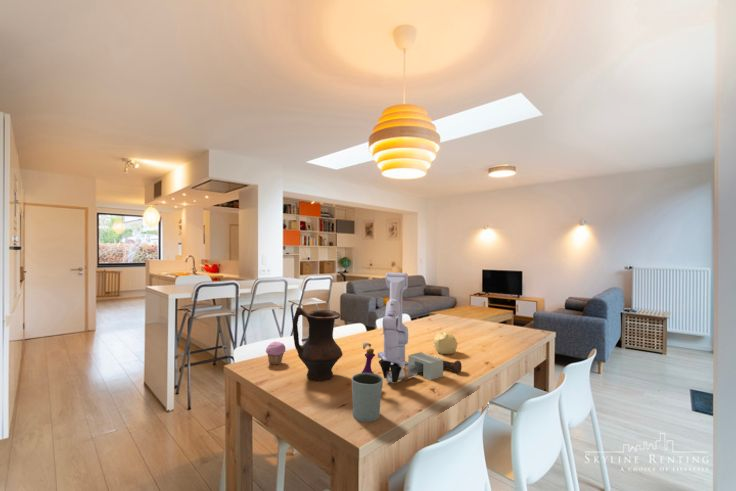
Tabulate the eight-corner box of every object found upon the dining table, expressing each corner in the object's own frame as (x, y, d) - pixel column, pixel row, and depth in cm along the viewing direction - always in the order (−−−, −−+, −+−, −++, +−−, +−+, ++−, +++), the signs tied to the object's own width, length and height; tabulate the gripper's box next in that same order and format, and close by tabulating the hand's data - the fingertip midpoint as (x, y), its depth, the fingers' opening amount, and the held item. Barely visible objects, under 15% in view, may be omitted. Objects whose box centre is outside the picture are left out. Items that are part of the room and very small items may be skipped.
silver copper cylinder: (384, 381, 136) (384, 367, 136) (409, 374, 144) (409, 361, 144) (393, 386, 131) (393, 371, 131) (418, 378, 139) (418, 365, 140)
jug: (335, 366, 153) (336, 301, 154) (347, 381, 136) (348, 307, 137) (288, 372, 146) (289, 303, 146) (295, 388, 129) (296, 310, 129)
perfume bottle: (365, 384, 133) (366, 339, 134) (380, 389, 129) (381, 342, 129) (353, 390, 128) (353, 342, 128) (368, 395, 123) (369, 346, 123)
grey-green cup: (347, 410, 111) (347, 374, 111) (375, 406, 115) (375, 370, 115) (357, 425, 102) (357, 386, 102) (387, 420, 105) (388, 381, 105)
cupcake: (273, 359, 163) (273, 338, 163) (289, 361, 160) (289, 340, 160) (262, 365, 154) (262, 343, 154) (278, 367, 151) (278, 345, 152)
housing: (408, 371, 149) (408, 355, 149) (420, 367, 154) (421, 352, 154) (430, 380, 138) (430, 363, 138) (443, 376, 143) (443, 359, 143)
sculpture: (432, 349, 182) (432, 329, 183) (454, 349, 182) (454, 330, 182) (435, 355, 171) (435, 334, 171) (459, 356, 171) (459, 335, 171)
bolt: (429, 369, 157) (460, 375, 148) (425, 366, 154) (456, 372, 144) (432, 356, 159) (462, 362, 150) (427, 353, 156) (458, 359, 147)
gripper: (372, 343, 138) (371, 376, 137) (395, 352, 126) (395, 388, 126) (385, 340, 142) (384, 372, 142) (409, 348, 130) (408, 384, 130)
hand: (390, 379), depth 134 cm, fingers closed on silver copper cylinder, 5 cm apart
